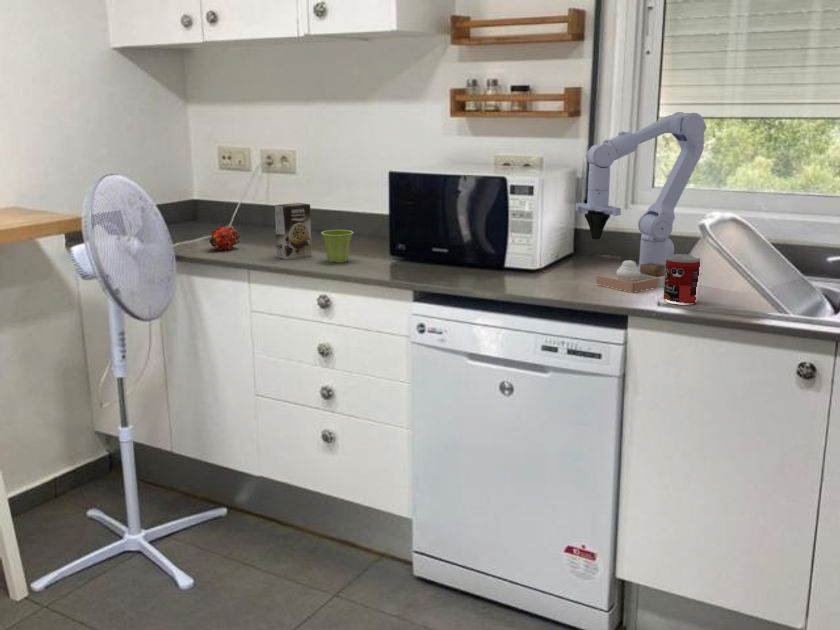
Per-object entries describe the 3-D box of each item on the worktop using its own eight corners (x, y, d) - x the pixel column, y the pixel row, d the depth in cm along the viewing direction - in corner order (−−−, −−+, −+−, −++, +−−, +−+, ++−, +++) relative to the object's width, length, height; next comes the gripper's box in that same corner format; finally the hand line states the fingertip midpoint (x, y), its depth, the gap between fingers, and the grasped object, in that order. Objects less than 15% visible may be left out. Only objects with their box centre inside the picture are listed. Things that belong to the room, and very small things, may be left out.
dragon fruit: (241, 251, 278) (215, 263, 268) (223, 235, 279) (197, 246, 270) (249, 232, 273) (224, 243, 263) (231, 216, 274) (205, 226, 265)
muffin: (635, 289, 216) (637, 262, 214) (612, 287, 219) (613, 260, 217) (642, 285, 221) (644, 258, 219) (620, 282, 224) (621, 256, 222)
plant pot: (358, 262, 252) (358, 233, 250) (329, 265, 248) (328, 235, 245) (346, 257, 260) (345, 228, 258) (317, 259, 256) (316, 231, 253)
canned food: (658, 298, 207) (661, 254, 204) (690, 298, 207) (694, 253, 205) (669, 306, 199) (673, 260, 197) (702, 305, 200) (706, 259, 197)
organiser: (646, 274, 234) (646, 265, 233) (682, 282, 224) (683, 273, 224) (596, 284, 222) (596, 275, 221) (632, 293, 212) (633, 283, 212)
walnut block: (650, 279, 229) (651, 262, 228) (663, 281, 225) (665, 265, 224) (639, 281, 226) (640, 264, 225) (653, 284, 223) (654, 267, 222)
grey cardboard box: (286, 260, 255) (284, 206, 251) (276, 257, 260) (273, 204, 256) (312, 256, 261) (310, 204, 257) (301, 253, 266) (299, 202, 262)
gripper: (568, 188, 234) (566, 236, 238) (609, 193, 223) (606, 244, 227) (586, 186, 239) (583, 234, 242) (627, 191, 227) (624, 241, 231)
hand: (596, 239), depth 235 cm, fingers closed
